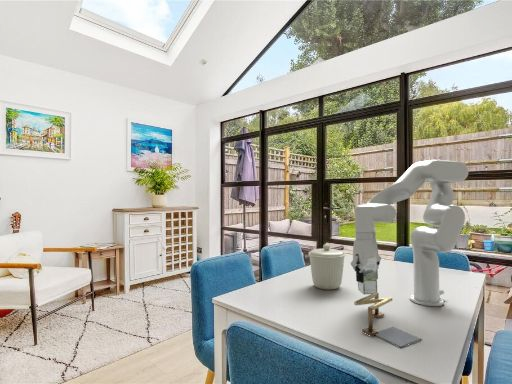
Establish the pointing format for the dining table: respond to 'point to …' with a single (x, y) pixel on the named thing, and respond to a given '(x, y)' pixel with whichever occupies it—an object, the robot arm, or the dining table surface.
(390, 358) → the dining table surface
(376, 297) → the accordion peg rack
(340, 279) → the canister
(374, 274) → the syrup box
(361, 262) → the robot arm
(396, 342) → the slate mat
